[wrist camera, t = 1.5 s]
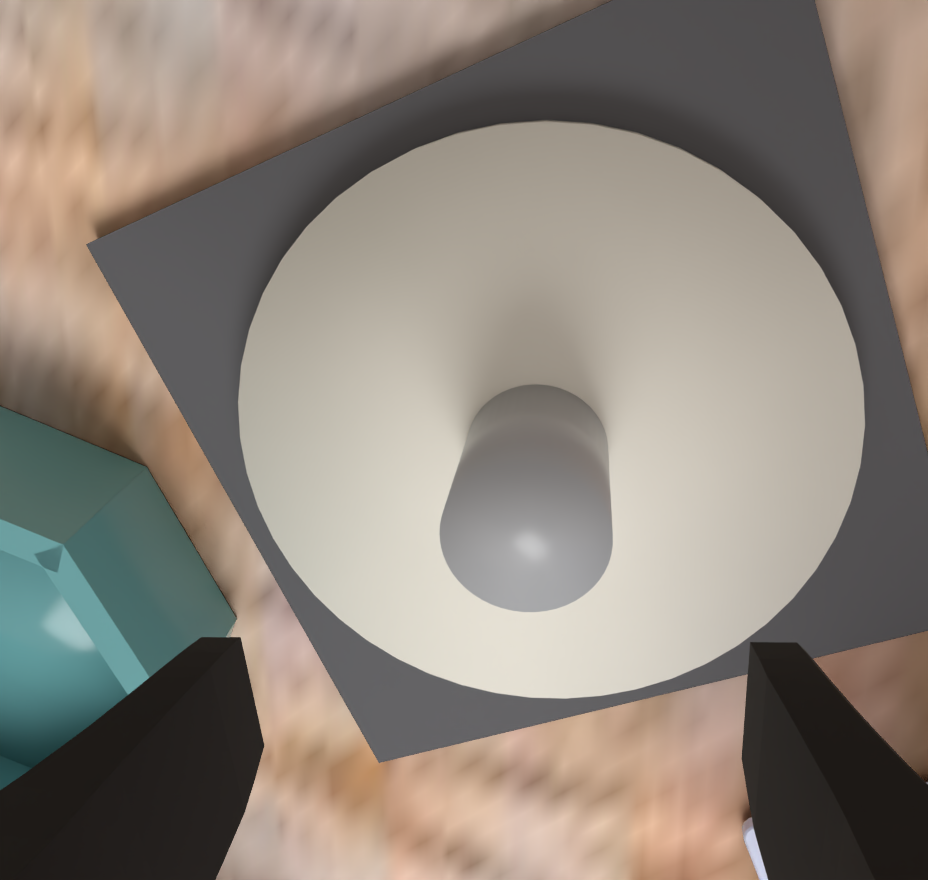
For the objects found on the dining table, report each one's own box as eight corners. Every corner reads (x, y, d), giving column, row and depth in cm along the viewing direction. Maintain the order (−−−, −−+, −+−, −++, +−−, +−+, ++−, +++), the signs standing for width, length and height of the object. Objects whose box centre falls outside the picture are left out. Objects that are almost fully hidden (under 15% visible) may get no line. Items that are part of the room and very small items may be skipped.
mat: (787, -80, 16) (793, -84, 16) (961, 608, 21) (969, 620, 21) (96, 240, 20) (86, 244, 20) (382, 750, 26) (378, 762, 25)
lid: (752, -4, 16) (812, -26, 12) (918, 598, 21) (1005, 740, 16) (144, 269, 20) (21, 327, 16) (396, 729, 25) (354, 873, 20)
